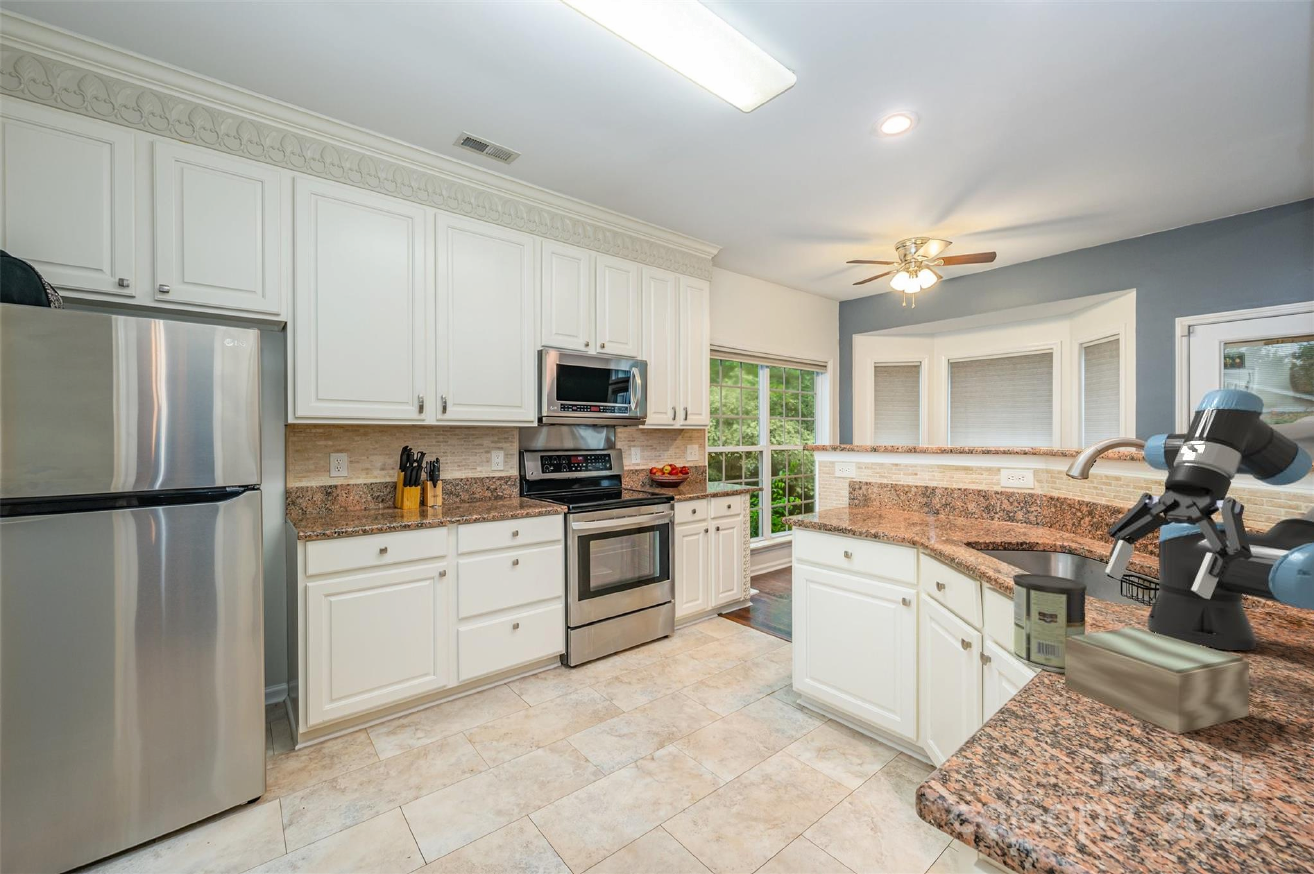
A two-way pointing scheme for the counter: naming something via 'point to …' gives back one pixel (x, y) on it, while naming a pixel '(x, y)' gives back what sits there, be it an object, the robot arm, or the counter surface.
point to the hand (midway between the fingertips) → (1153, 584)
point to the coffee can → (1046, 618)
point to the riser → (1158, 678)
